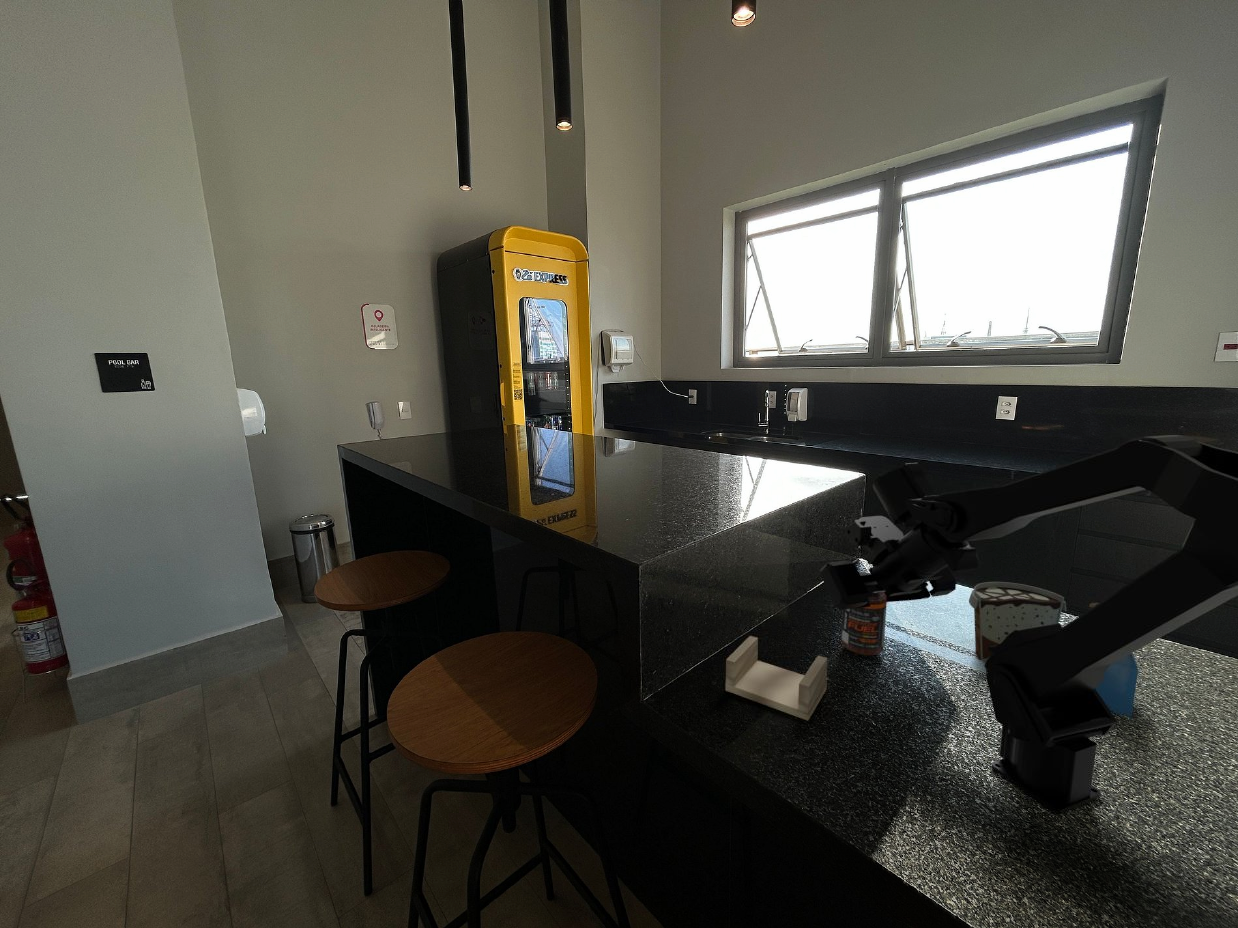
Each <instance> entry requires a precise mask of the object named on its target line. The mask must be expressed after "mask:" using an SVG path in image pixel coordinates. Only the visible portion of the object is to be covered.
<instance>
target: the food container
mask: <svg viewBox="0 0 1238 928" xmlns="http://www.w3.org/2000/svg"><path fill="white" fill-rule="evenodd" d="M968 604H969V605H970V606H971V607H972V608H973V611H974V612H973V615H974V616H973V617H974V644H975V647H974V648H975V650H974V651H975V654H976V657H977V658H978V660H980V661H984V662H985V661H986V659H987V658H988V657H989V656H990V655H991V654H993V653H992V652H991V651H989V650H988V647H992V646H997V645H999V644H1001V643H1002V642H1003V641H1004V639H1005V638H1006V637H1007V636H1008V635H1009V634H1010V633H1012V632H1013V631H1014V630H1019V629H1025V628H1031V627H1037V626H1043V625H1049V624H1055V623H1060V619H1061V615H1062V611H1064V612H1067V611H1068V610H1067V603H1066V601H1065V597H1064V596H1062V595H1060V594H1057V593H1055V592H1052V591H1050V590H1047V589H1044V588H1041V587H1036V586H1032V585H1029V584H1028V585H1027V584H1024V583H1022V584H1021V583H1015V582H1008V581H1007V582H1006V581H1005V582H1004V581H987V582H981V583H977V584H976V585H975V586H974V588H973V589H972V590H971V593H970V595H969V598H968Z"/></svg>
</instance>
